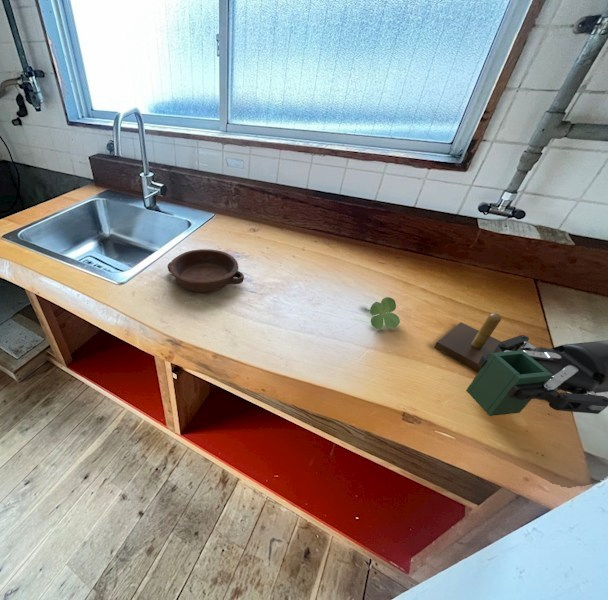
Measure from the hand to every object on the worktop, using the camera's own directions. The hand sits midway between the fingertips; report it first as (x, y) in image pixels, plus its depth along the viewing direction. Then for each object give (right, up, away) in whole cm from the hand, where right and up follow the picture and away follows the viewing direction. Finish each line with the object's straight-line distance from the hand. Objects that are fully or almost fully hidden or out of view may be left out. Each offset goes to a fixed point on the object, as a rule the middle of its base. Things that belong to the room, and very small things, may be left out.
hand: (496, 376), depth 48 cm
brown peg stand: (+9, +2, +15) cm, 18 cm away
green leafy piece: (-5, +7, +23) cm, 25 cm away
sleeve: (+3, -5, +4) cm, 7 cm away
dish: (-45, +17, +39) cm, 62 cm away
